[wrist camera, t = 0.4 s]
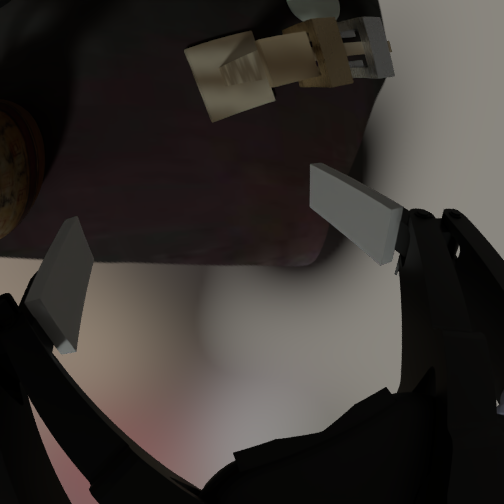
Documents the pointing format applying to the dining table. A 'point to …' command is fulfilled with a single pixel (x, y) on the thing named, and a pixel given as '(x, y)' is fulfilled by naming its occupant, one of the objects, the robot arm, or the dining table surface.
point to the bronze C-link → (325, 52)
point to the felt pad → (314, 8)
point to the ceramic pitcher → (18, 164)
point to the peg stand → (252, 69)
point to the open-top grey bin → (369, 47)
